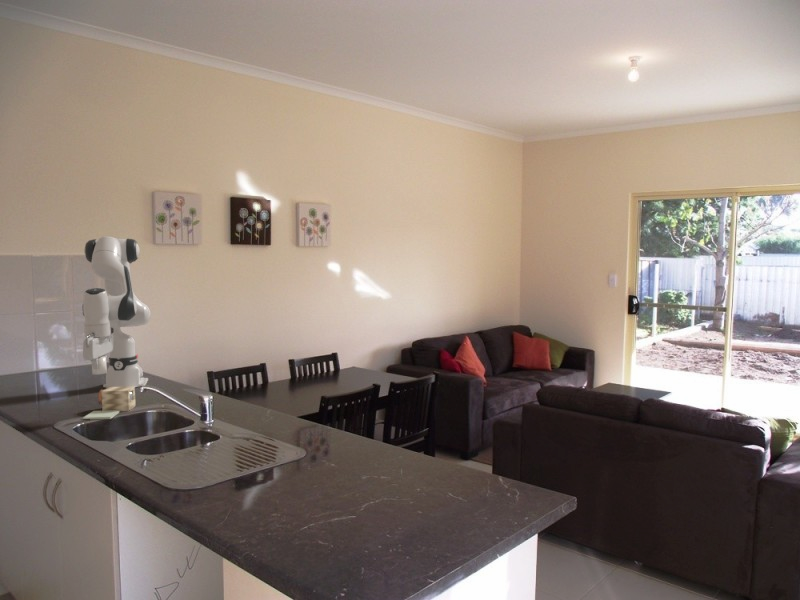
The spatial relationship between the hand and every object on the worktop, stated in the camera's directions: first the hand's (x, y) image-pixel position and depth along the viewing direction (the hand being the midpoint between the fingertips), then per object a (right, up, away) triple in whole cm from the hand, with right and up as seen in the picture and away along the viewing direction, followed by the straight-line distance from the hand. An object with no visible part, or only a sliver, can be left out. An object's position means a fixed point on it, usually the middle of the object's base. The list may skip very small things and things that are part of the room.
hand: (99, 367), depth 237 cm
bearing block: (+2, -18, +12) cm, 21 cm away
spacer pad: (0, -19, +2) cm, 19 cm away
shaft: (+1, -16, +11) cm, 20 cm away
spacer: (0, -2, 0) cm, 2 cm away
